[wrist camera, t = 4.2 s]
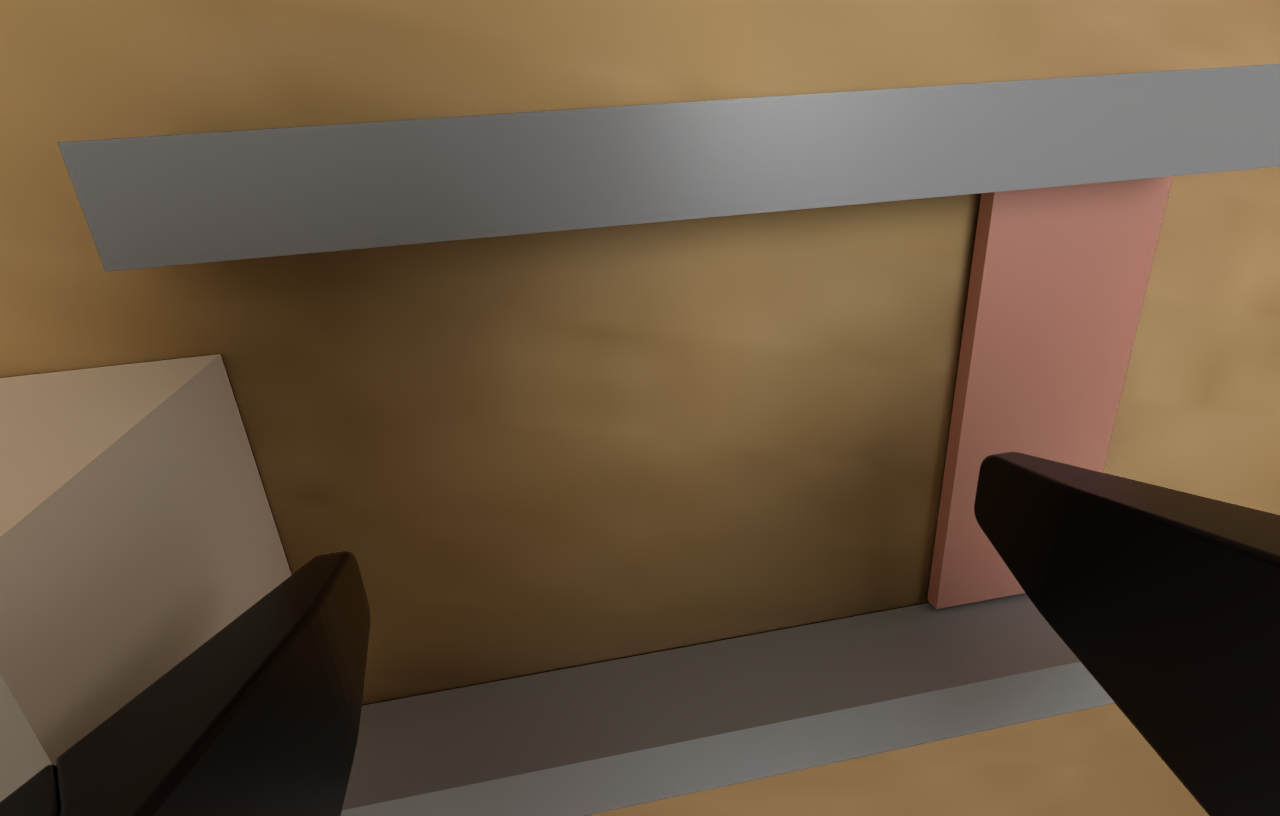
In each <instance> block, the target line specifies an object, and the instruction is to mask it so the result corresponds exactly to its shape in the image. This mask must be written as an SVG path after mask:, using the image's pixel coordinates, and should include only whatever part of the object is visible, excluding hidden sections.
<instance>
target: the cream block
mask: <svg viewBox="0 0 1280 816" xmlns="http://www.w3.org/2000/svg"><path fill="white" fill-rule="evenodd" d="M290 576H291V572H290V569H289V565H288V562H287V559H286V556H285V553H284V550H283V547H282V544H281V541H280V537H279V534H278V531H277V528H276V525H275V522H274V519H273V516H272V513H271V510H270V506H269V503H268V500H267V497H266V494H265V491H264V488H263V485H262V482H261V479H260V475H259V472H258V469H257V466H256V463H255V460H254V457H253V454H252V451H251V448H250V444H249V441H248V438H247V435H246V432H245V429H244V426H243V423H242V420H241V416H240V413H239V410H238V407H237V404H236V401H235V398H234V395H233V392H232V389H231V385H230V382H229V379H228V376H227V373H226V370H225V367H224V364H223V361H222V358H221V354H217V355H207V356H198V357H189V358H180V359H171V360H162V361H152V362H143V363H134V364H125V365H116V366H107V367H97V368H88V369H79V370H70V371H61V372H52V373H42V374H33V375H24V376H15V377H6V378H0V802H1V801H2V800H3V799H5V798H6V797H7V796H9V795H10V794H11V793H13V792H14V791H15V790H16V789H18V788H19V787H20V786H21V785H23V784H24V783H25V782H27V781H28V780H29V779H30V778H32V777H33V776H34V775H35V774H37V773H38V772H39V771H40V770H42V769H43V768H44V767H46V766H47V765H51V764H53V765H55V766H56V764H55V762H56V759H57V758H58V757H59V756H60V755H61V754H63V753H64V752H65V751H66V750H68V749H69V748H70V747H72V746H73V745H74V744H75V743H77V742H78V741H79V740H81V739H82V738H83V737H84V736H86V735H87V734H88V733H90V732H91V731H92V730H93V729H95V728H96V727H97V726H99V725H100V724H101V723H102V722H104V721H105V720H106V719H108V718H109V717H110V716H111V715H113V714H114V713H115V712H117V711H118V710H119V709H120V708H122V707H123V706H124V705H126V704H127V703H128V702H129V701H131V700H132V699H133V698H134V697H136V696H137V695H138V694H140V693H141V692H142V691H143V690H145V689H146V688H147V687H149V686H150V685H151V684H152V683H154V682H155V681H156V680H158V679H159V678H160V677H161V676H163V675H164V674H165V673H167V672H168V671H169V670H170V669H172V668H173V667H174V666H176V665H177V664H178V663H179V662H181V661H182V660H183V659H185V658H186V657H187V656H188V655H190V654H191V653H192V652H194V651H195V650H196V649H197V648H199V647H200V646H201V645H203V644H204V643H205V642H206V641H208V640H209V639H210V638H212V637H213V636H214V635H215V634H217V633H218V632H219V631H221V630H222V629H223V628H224V627H226V626H227V625H228V624H229V623H231V622H232V621H233V620H235V619H236V618H237V617H238V616H240V615H241V614H242V613H244V612H245V611H246V610H247V609H249V608H250V607H251V606H253V605H254V604H255V603H256V602H258V601H259V600H260V599H262V598H263V597H264V596H265V595H267V594H268V593H269V592H271V591H272V590H273V589H274V588H276V587H277V586H278V585H280V584H281V583H282V582H283V581H285V580H286V579H287V578H288V577H290Z"/></svg>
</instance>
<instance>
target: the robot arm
mask: <svg viewBox="0 0 1280 816" xmlns="http://www.w3.org/2000/svg"><path fill="white" fill-rule="evenodd" d="M974 513H975V517H976V520H977V522H978V524H979V526H980V528H981V529H982V530H983V532H984V533H985V535H986V536H987V538H988V539H989V541H990V542H991V544H992V545H993V546H994V548H995V549H996V551H997V552H998V554H999V555H1000V557H1001V558H1002V560H1003V561H1004V562H1005V564H1006V565H1007V567H1008V568H1009V570H1010V571H1011V573H1012V574H1013V576H1014V577H1015V578H1016V580H1017V581H1018V583H1019V584H1020V586H1021V587H1022V589H1023V590H1024V592H1025V593H1026V595H1027V596H1028V597H1029V599H1030V600H1031V601H1032V603H1033V604H1034V606H1035V607H1036V608H1037V610H1038V611H1039V612H1040V614H1041V615H1042V616H1043V617H1044V619H1045V620H1046V621H1047V622H1048V624H1049V625H1050V626H1051V627H1052V629H1053V630H1054V631H1055V632H1056V633H1057V634H1058V636H1059V637H1060V638H1061V639H1062V640H1063V642H1064V643H1065V644H1066V645H1067V646H1068V648H1069V649H1070V650H1071V651H1072V652H1073V654H1074V655H1075V656H1076V657H1077V658H1078V660H1079V661H1080V662H1081V663H1082V664H1083V665H1084V667H1085V668H1086V669H1087V670H1088V671H1089V673H1090V674H1091V675H1092V676H1093V677H1094V679H1095V680H1096V681H1097V682H1098V683H1099V685H1100V686H1101V687H1102V688H1103V689H1104V691H1105V692H1106V693H1107V694H1108V695H1109V697H1110V698H1111V699H1112V700H1113V701H1114V702H1115V704H1116V705H1117V706H1118V707H1119V708H1120V710H1121V711H1122V712H1123V713H1124V714H1125V716H1126V717H1127V718H1128V719H1129V720H1130V722H1131V723H1132V724H1133V725H1134V726H1135V728H1136V729H1137V730H1138V731H1139V732H1140V733H1141V735H1142V736H1143V737H1144V738H1145V739H1146V741H1147V742H1148V743H1149V744H1150V745H1151V747H1152V748H1153V749H1154V750H1155V751H1156V753H1157V754H1158V755H1159V756H1160V757H1161V759H1162V760H1163V761H1164V762H1165V763H1166V765H1167V766H1168V767H1169V768H1170V769H1171V770H1172V772H1173V773H1174V774H1175V775H1176V776H1177V778H1178V779H1179V780H1180V781H1181V782H1182V784H1183V785H1184V786H1185V787H1186V788H1187V790H1188V791H1189V792H1190V793H1191V794H1192V796H1193V797H1194V798H1195V799H1196V800H1197V801H1198V803H1199V804H1200V805H1201V806H1202V807H1203V809H1204V810H1205V811H1206V812H1207V813H1208V815H1209V816H1280V515H1276V514H1272V513H1268V512H1264V511H1259V510H1255V509H1251V508H1247V507H1243V506H1239V505H1235V504H1230V503H1226V502H1222V501H1218V500H1214V499H1210V498H1205V497H1201V496H1197V495H1193V494H1189V493H1185V492H1181V491H1176V490H1172V489H1168V488H1164V487H1160V486H1156V485H1152V484H1147V483H1143V482H1139V481H1135V480H1131V479H1127V478H1123V477H1118V476H1114V475H1110V474H1106V473H1102V472H1098V471H1093V470H1089V469H1085V468H1081V467H1077V466H1073V465H1069V464H1064V463H1060V462H1056V461H1052V460H1048V459H1044V458H1040V457H1035V456H1031V455H1027V454H1023V453H1019V452H1006V453H1000V454H993V455H989V456H987V457H986V458H984V460H983V461H982V463H981V466H980V471H979V477H978V483H977V490H976V496H975V502H974ZM369 631H370V609H369V604H368V600H367V596H366V592H365V589H364V585H363V581H362V578H361V574H360V570H359V566H358V563H357V560H356V558H355V556H354V555H353V554H352V553H351V552H349V551H343V552H337V553H330V554H323V555H319V556H316V557H314V558H313V559H312V560H310V561H309V562H308V563H306V564H305V565H304V566H303V567H301V568H300V569H299V570H297V571H296V572H295V573H294V574H292V575H291V576H290V577H288V578H287V579H286V580H285V581H283V582H282V583H281V584H280V585H278V586H277V587H276V588H274V589H273V590H272V591H271V592H269V593H268V594H267V595H265V596H264V597H263V598H262V599H260V600H259V601H258V602H256V603H255V604H254V605H253V606H251V607H250V608H249V609H247V610H246V611H245V612H244V613H242V614H241V615H240V616H238V617H237V618H236V619H235V620H233V621H232V622H231V623H229V624H228V625H227V626H226V627H224V628H223V629H222V630H221V631H219V632H218V633H217V634H215V635H214V636H213V637H212V638H210V639H209V640H208V641H206V642H205V643H204V644H203V645H201V646H200V647H199V648H197V649H196V650H195V651H194V652H192V653H191V654H190V655H188V656H187V657H186V658H185V659H183V660H182V661H181V662H179V663H178V664H177V665H176V666H174V667H173V668H172V669H170V670H169V671H168V672H167V673H165V674H164V675H163V676H161V677H160V678H159V679H158V680H156V681H155V682H154V683H152V684H151V685H150V686H149V687H147V688H146V689H145V690H143V691H142V692H141V693H140V694H138V695H137V696H136V697H134V698H133V699H132V700H131V701H129V702H128V703H127V704H126V705H124V706H123V707H122V708H120V709H119V710H118V711H117V712H115V713H114V714H113V715H111V716H110V717H109V718H108V719H106V720H105V721H104V722H102V723H101V724H100V725H99V726H97V727H96V728H95V729H93V730H92V731H91V732H90V733H88V734H87V735H86V736H84V737H83V738H82V739H81V740H79V741H78V742H77V743H75V744H74V745H73V746H72V747H70V748H69V749H68V750H66V751H65V752H64V753H63V754H61V755H60V756H59V757H58V758H57V759H56V762H55V764H56V766H55V765H53V764H51V765H47V766H46V767H44V768H43V769H42V770H40V771H39V772H38V773H37V774H35V775H34V776H33V777H32V778H30V779H29V780H28V781H27V782H25V783H24V784H23V785H21V786H20V787H19V788H18V789H16V790H15V791H14V792H13V793H11V794H10V795H9V796H7V797H6V798H5V799H3V800H2V801H1V802H0V816H341V813H342V808H343V804H344V800H345V795H346V791H347V786H348V782H349V778H350V773H351V769H352V764H353V760H354V755H355V750H356V745H357V740H358V734H359V726H360V718H361V708H362V698H363V689H364V679H365V669H366V660H367V650H368V640H369Z"/></svg>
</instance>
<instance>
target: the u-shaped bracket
mask: <svg viewBox="0 0 1280 816" xmlns="http://www.w3.org/2000/svg"><path fill="white" fill-rule="evenodd" d="M57 143H58V145H59V148H60V151H61V154H62V156H63V159H64V162H65V164H66V167H67V170H68V172H69V175H70V178H71V180H72V183H73V186H74V188H75V191H76V194H77V196H78V199H79V202H80V205H81V207H82V210H83V213H84V215H85V218H86V221H87V223H88V226H89V229H90V231H91V234H92V237H93V239H94V242H95V245H96V247H97V250H98V253H99V256H100V258H101V261H102V264H103V266H104V269H105V272H106V271H118V270H129V269H140V268H151V267H162V266H173V265H185V264H196V263H207V262H218V261H229V260H240V259H252V258H263V257H274V256H285V255H296V254H307V253H319V252H330V251H341V250H352V249H363V248H375V247H386V246H397V245H408V244H419V243H430V242H442V241H453V240H464V239H475V238H486V237H497V236H509V235H520V234H531V233H542V232H553V231H564V230H576V229H587V228H598V227H609V226H620V225H631V224H643V223H654V222H665V221H676V220H687V219H699V218H710V217H721V216H732V215H743V214H754V213H766V212H777V211H788V210H799V209H810V208H821V207H833V206H844V205H855V204H866V203H877V202H888V201H900V200H911V199H922V198H933V197H944V196H955V195H967V194H978V193H981V199H980V207H979V214H978V222H977V229H976V237H975V245H974V252H973V260H972V267H971V275H970V282H969V290H968V297H967V305H966V312H965V320H964V327H963V335H962V342H961V350H960V357H959V365H958V372H957V380H956V387H955V395H954V402H953V410H952V417H951V425H950V432H949V440H948V448H947V455H946V463H945V470H944V478H943V485H942V493H941V500H940V508H939V515H938V523H937V530H936V538H935V545H934V553H933V560H932V568H931V575H930V583H929V590H928V598H927V599H928V601H929V602H930V603H926V604H920V605H915V606H909V607H904V608H898V609H893V610H887V611H882V612H876V613H871V614H865V615H860V616H854V617H849V618H843V619H838V620H832V621H827V622H821V623H815V624H810V625H804V626H799V627H793V628H788V629H782V630H777V631H771V632H766V633H760V634H755V635H749V636H744V637H738V638H733V639H727V640H722V641H716V642H711V643H705V644H700V645H694V646H689V647H683V648H678V649H672V650H667V651H661V652H656V653H650V654H645V655H639V656H633V657H628V658H622V659H617V660H611V661H606V662H600V663H595V664H589V665H584V666H578V667H573V668H567V669H562V670H556V671H551V672H545V673H540V674H534V675H529V676H523V677H518V678H512V679H507V680H501V681H496V682H490V683H485V684H479V685H474V686H468V687H463V688H457V689H451V690H446V691H440V692H435V693H429V694H424V695H418V696H413V697H407V698H402V699H396V700H391V701H385V702H380V703H374V704H369V705H363V706H362V708H361V718H360V726H359V734H358V740H357V745H356V750H355V755H354V760H353V764H352V769H351V773H350V778H349V782H348V786H347V791H346V795H345V800H344V804H343V808H342V813H341V816H586V815H591V814H595V813H600V812H605V811H610V810H614V809H619V808H624V807H628V806H633V805H638V804H642V803H647V802H652V801H657V800H661V799H666V798H671V797H675V796H680V795H685V794H689V793H694V792H699V791H703V790H708V789H713V788H718V787H722V786H727V785H732V784H736V783H741V782H746V781H750V780H755V779H760V778H765V777H769V776H774V775H779V774H783V773H788V772H793V771H797V770H802V769H807V768H811V767H816V766H821V765H826V764H830V763H835V762H840V761H844V760H849V759H854V758H858V757H863V756H868V755H873V754H877V753H882V752H887V751H891V750H896V749H901V748H905V747H910V746H915V745H919V744H924V743H929V742H934V741H938V740H943V739H948V738H952V737H957V736H962V735H966V734H971V733H976V732H981V731H985V730H990V729H995V728H999V727H1004V726H1009V725H1013V724H1018V723H1023V722H1027V721H1032V720H1037V719H1042V718H1046V717H1051V716H1056V715H1060V714H1065V713H1070V712H1074V711H1079V710H1084V709H1089V708H1093V707H1098V706H1103V705H1107V704H1112V703H1115V702H1114V701H1113V700H1112V699H1111V698H1110V697H1109V695H1108V694H1107V693H1106V692H1105V691H1104V689H1103V688H1102V687H1101V686H1100V685H1099V683H1098V682H1097V681H1096V680H1095V679H1094V677H1093V676H1092V675H1091V674H1090V673H1089V671H1088V670H1087V669H1086V668H1085V667H1084V665H1083V664H1082V663H1081V662H1080V661H1079V660H1078V658H1077V657H1076V656H1075V655H1074V654H1073V652H1072V651H1071V650H1070V649H1069V648H1068V646H1067V645H1066V644H1065V643H1064V642H1063V640H1062V639H1061V638H1060V637H1059V636H1058V634H1057V633H1056V632H1055V631H1054V630H1053V629H1052V627H1051V626H1050V625H1049V624H1048V622H1047V621H1046V620H1045V619H1044V617H1043V616H1042V615H1041V614H1040V612H1039V611H1038V610H1037V608H1036V607H1035V606H1034V604H1033V603H1032V601H1031V600H1030V599H1029V597H1028V596H1027V595H1026V593H1025V592H1024V590H1023V589H1022V587H1021V586H1020V584H1019V583H1018V581H1017V580H1016V578H1015V577H1014V576H1013V574H1012V573H1011V571H1010V570H1009V568H1008V567H1007V565H1006V564H1005V562H1004V561H1003V560H1002V558H1001V557H1000V555H999V554H998V552H997V551H996V549H995V548H994V546H993V545H992V544H991V542H990V541H989V539H988V538H987V536H986V535H985V533H984V532H983V530H982V529H981V528H980V526H979V524H978V522H977V520H976V517H975V513H974V502H975V496H976V490H977V483H978V477H979V471H980V466H981V463H982V461H983V460H984V458H986V457H987V456H989V455H993V454H1000V453H1006V452H1019V453H1023V454H1027V455H1031V456H1035V457H1040V458H1044V459H1048V460H1052V461H1056V462H1060V463H1064V464H1069V465H1073V466H1077V467H1081V468H1085V469H1089V470H1093V471H1098V472H1102V473H1103V469H1104V465H1105V460H1106V456H1107V452H1108V448H1109V444H1110V439H1111V435H1112V431H1113V427H1114V422H1115V418H1116V414H1117V410H1118V406H1119V401H1120V397H1121V393H1122V389H1123V385H1124V380H1125V376H1126V372H1127V368H1128V364H1129V359H1130V355H1131V351H1132V347H1133V343H1134V338H1135V334H1136V330H1137V326H1138V322H1139V317H1140V313H1141V309H1142V305H1143V301H1144V296H1145V292H1146V288H1147V284H1148V280H1149V275H1150V271H1151V267H1152V263H1153V258H1154V254H1155V250H1156V246H1157V242H1158V237H1159V233H1160V229H1161V225H1162V221H1163V216H1164V212H1165V208H1166V204H1167V200H1168V195H1169V191H1170V187H1171V183H1172V179H1173V176H1179V175H1190V174H1201V173H1212V172H1224V171H1235V170H1246V169H1257V168H1268V167H1279V166H1280V64H1270V65H1255V66H1239V67H1224V68H1208V69H1193V70H1177V71H1161V72H1146V73H1130V74H1115V75H1099V76H1084V77H1068V78H1052V79H1037V80H1021V81H1006V82H990V83H975V84H959V85H943V86H928V87H912V88H897V89H881V90H866V91H850V92H835V93H819V94H803V95H788V96H772V97H757V98H741V99H726V100H710V101H694V102H679V103H663V104H648V105H632V106H617V107H601V108H585V109H570V110H554V111H539V112H523V113H508V114H492V115H477V116H461V117H445V118H430V119H414V120H399V121H383V122H368V123H352V124H336V125H321V126H305V127H290V128H274V129H259V130H243V131H227V132H212V133H196V134H181V135H165V136H150V137H134V138H119V139H103V140H87V141H72V142H57Z"/></svg>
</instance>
